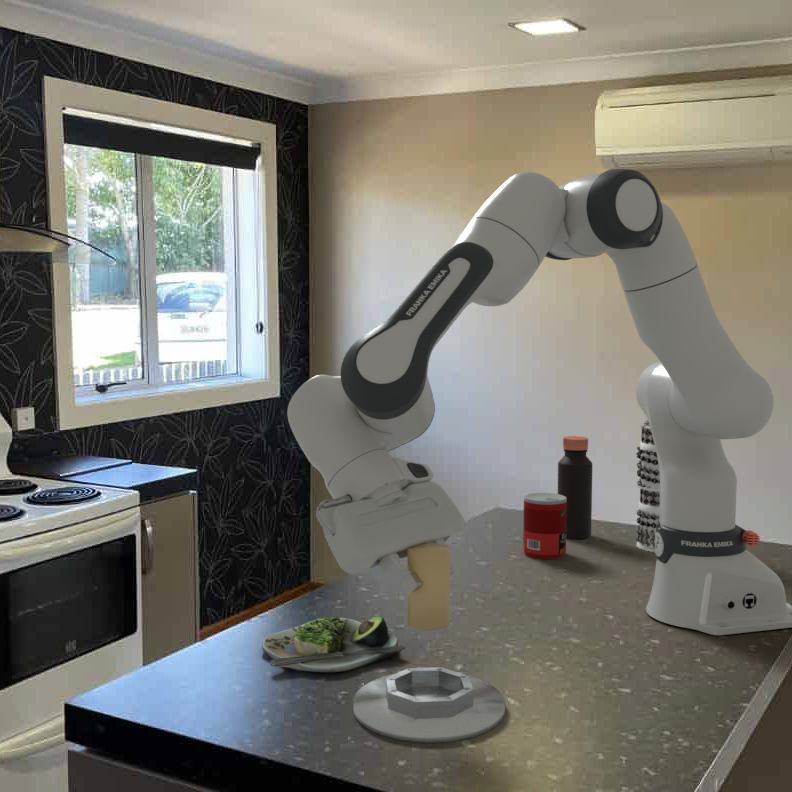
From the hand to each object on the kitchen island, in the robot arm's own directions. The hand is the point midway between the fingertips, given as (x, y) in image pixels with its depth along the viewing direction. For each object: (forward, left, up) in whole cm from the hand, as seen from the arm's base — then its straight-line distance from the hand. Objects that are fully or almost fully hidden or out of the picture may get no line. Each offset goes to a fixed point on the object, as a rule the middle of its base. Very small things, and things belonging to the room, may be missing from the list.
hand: (433, 583), depth 114 cm
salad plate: (+11, -20, -16) cm, 28 cm away
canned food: (-29, -66, -16) cm, 74 cm away
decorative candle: (-52, -69, -16) cm, 88 cm away
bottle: (-38, -79, -16) cm, 89 cm away
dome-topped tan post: (0, 0, -5) cm, 5 cm away
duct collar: (0, 0, -15) cm, 15 cm away
